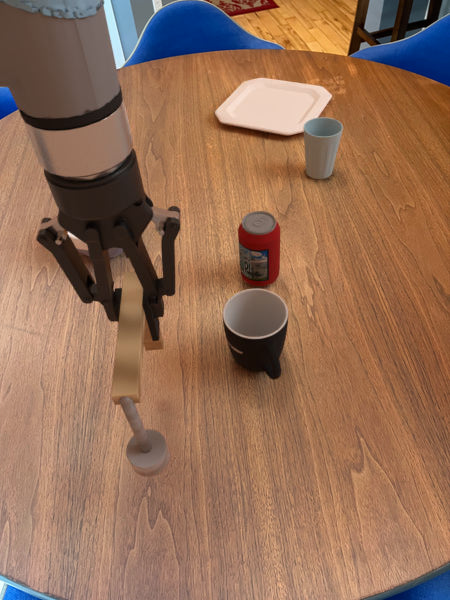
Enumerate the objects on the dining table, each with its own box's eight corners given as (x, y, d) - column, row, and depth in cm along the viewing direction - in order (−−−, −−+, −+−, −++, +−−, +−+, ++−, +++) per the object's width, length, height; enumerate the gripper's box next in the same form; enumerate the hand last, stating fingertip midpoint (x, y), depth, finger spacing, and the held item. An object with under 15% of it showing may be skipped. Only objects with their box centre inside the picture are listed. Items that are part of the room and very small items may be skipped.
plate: (248, 83, 132) (248, 75, 130) (336, 96, 124) (337, 87, 122) (207, 126, 118) (206, 118, 116) (303, 145, 110) (303, 136, 108)
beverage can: (232, 275, 84) (228, 222, 75) (260, 256, 86) (258, 202, 77) (260, 296, 80) (258, 242, 71) (287, 275, 83) (289, 221, 74)
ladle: (169, 475, 52) (146, 415, 42) (129, 478, 52) (97, 419, 42) (171, 341, 64) (153, 269, 54) (138, 344, 64) (114, 272, 54)
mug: (218, 342, 74) (212, 299, 67) (271, 324, 76) (271, 280, 68) (248, 406, 67) (245, 366, 59) (306, 384, 68) (310, 342, 61)
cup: (304, 159, 106) (307, 115, 98) (339, 164, 104) (345, 118, 96) (297, 179, 101) (299, 134, 93) (333, 184, 99) (339, 138, 91)
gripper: (183, 123, 41) (207, 303, 59) (3, 139, 41) (81, 314, 59) (184, 174, 36) (210, 353, 54) (-20, 192, 36) (72, 365, 54)
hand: (142, 332), depth 56 cm, fingers closed on ladle, 2 cm apart
